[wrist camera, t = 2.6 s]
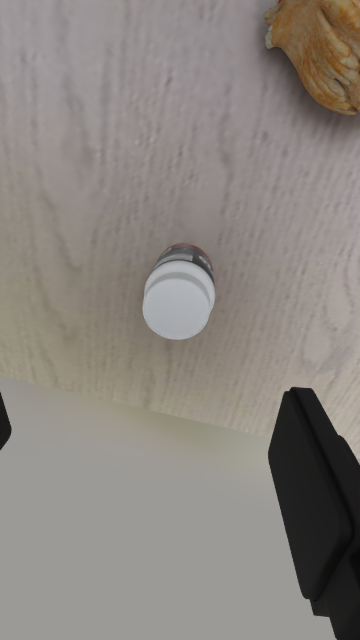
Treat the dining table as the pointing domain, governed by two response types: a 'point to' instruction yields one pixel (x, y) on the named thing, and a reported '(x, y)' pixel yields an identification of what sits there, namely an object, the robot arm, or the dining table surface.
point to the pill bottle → (179, 292)
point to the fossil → (321, 48)
